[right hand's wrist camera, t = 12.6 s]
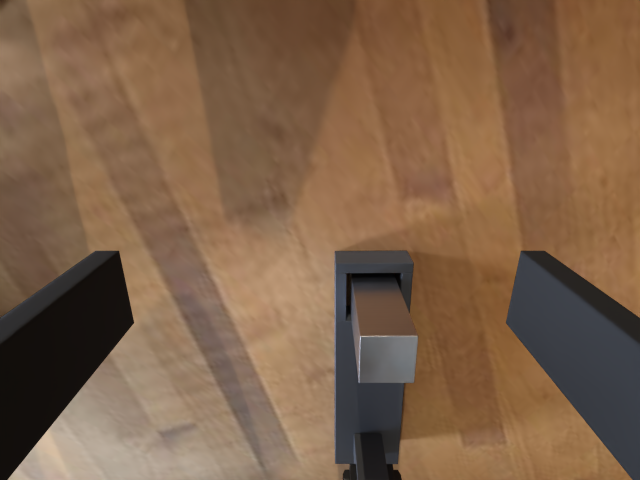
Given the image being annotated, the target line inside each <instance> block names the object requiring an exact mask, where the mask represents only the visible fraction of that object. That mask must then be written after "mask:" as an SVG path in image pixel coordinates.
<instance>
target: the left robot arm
mask: <svg viewBox="0 0 640 480" xmlns="http://www.w3.org/2000/svg"><path fill="white" fill-rule="evenodd" d="M387 469H388V476H389V480H402V479H401V474H400V473H399V471H398V470H393V465H392V464H387ZM343 480H357V471H356V464H349V470H345V471H344V473H343Z"/></svg>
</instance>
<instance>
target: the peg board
mask: <svg viewBox="0 0 640 480" xmlns="http://www.w3.org/2000/svg"><path fill="white" fill-rule="evenodd" d="M413 265H414V263H413V261H412V259H411V257H410V255H409V254H408V252H407V251H335V464H356V471H357V480H389V476H388V469H387V464H398V455H399V443H400V430H401V417H402V405H403V392H404V383H359V380H358V371H357V363H356V354H355V346H354V337H353V329H352V320H351V311H350V305H346V273H396V274H395V278H396V281H397V283H398V286H399V288H400V291H401V293H402V296H403V299H404V301H405V304H406V306H407V309H408V311H409V314H410V301H411V289H412V276H413Z"/></svg>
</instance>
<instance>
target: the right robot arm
mask: <svg viewBox="0 0 640 480" xmlns="http://www.w3.org/2000/svg"><path fill="white" fill-rule="evenodd" d="M133 324H134V320H133V315H132V311H131V306H130V301H129V296H128V292H127V287H126V282H125V277H124V272H123V268H122V263H121V258H120V253H119V251H95V252H93V253H92V254H90V255H89V256H88V257H86V258H85V259H83V260H82V261H80V262H79V263H78V264H76V265H75V266H73V267H72V268H70V269H69V270H68V271H66V272H65V273H63V274H62V275H61V276H59V277H58V278H56V279H55V280H53V281H52V282H51V283H49V284H48V285H46V286H45V287H43V288H42V289H41V290H39V291H38V292H36V293H35V294H34V295H32V296H31V297H29V298H28V299H26V300H25V301H24V302H22V303H21V304H19V305H18V306H17V307H15V308H14V309H12V310H11V311H9V312H8V313H7V314H5V315H4V316H2V317H1V318H0V480H7V479H8V478H9V477H10V476H11V474H12V473H13V472H14V471H15V470H16V468H17V467H18V466H19V465H20V463H21V462H22V461H23V460H24V458H25V457H26V456H27V455H28V453H29V452H30V451H31V450H32V448H33V447H34V446H35V445H36V444H37V442H38V441H39V440H40V439H41V437H42V436H43V435H44V434H45V432H46V431H47V430H48V429H49V427H50V426H51V425H52V424H53V423H54V421H55V420H56V419H57V418H58V416H59V415H60V414H61V413H62V411H63V410H64V409H65V408H66V406H67V405H68V404H69V403H70V401H71V400H72V399H73V398H74V397H75V395H76V394H77V393H78V392H79V390H80V389H81V388H82V387H83V385H84V384H85V383H86V382H87V380H88V379H89V378H90V377H91V375H92V374H93V373H94V372H95V371H96V369H97V368H98V367H99V366H100V364H101V363H102V362H103V361H104V359H105V358H106V357H107V356H108V354H109V353H110V352H111V351H112V350H113V348H114V347H115V346H116V345H117V343H118V342H119V341H120V340H121V338H122V337H123V336H124V335H125V333H126V332H127V331H128V330H129V328H130V327H131V326H132V325H133ZM506 324H507V325H508V326H509V327H510V328H511V330H512V331H513V332H514V333H515V335H516V336H517V337H518V338H519V340H520V341H521V342H522V343H523V345H524V346H525V347H526V348H527V350H528V351H529V352H530V353H531V354H532V356H533V357H534V358H535V359H536V361H537V362H538V363H539V364H540V366H541V367H542V368H543V369H544V371H545V372H546V373H547V374H548V375H549V377H550V378H551V379H552V380H553V382H554V383H555V384H556V385H557V387H558V388H559V389H560V390H561V392H562V393H563V394H564V395H565V397H566V398H567V399H568V400H569V401H570V403H571V404H572V405H573V406H574V408H575V409H576V410H577V411H578V413H579V414H580V415H581V416H582V418H583V419H584V420H585V421H586V423H587V424H588V425H589V426H590V427H591V429H592V430H593V431H594V432H595V434H596V435H597V436H598V437H599V439H600V440H601V441H602V442H603V444H604V445H605V446H606V447H607V449H608V450H609V451H610V452H611V453H612V455H613V456H614V457H615V458H616V460H617V461H618V462H619V463H620V465H621V466H622V467H623V468H624V470H625V471H626V472H627V473H628V474H629V476H630V477H631V478H632V479H633V480H640V318H639V317H638V316H636V315H635V314H633V313H632V312H631V311H629V310H628V309H626V308H625V307H623V306H622V305H621V304H619V303H618V302H616V301H615V300H614V299H612V298H611V297H609V296H608V295H606V294H605V293H604V292H602V291H601V290H599V289H598V288H596V287H595V286H594V285H592V284H591V283H589V282H588V281H587V280H585V279H584V278H582V277H581V276H579V275H578V274H577V273H575V272H574V271H572V270H571V269H570V268H568V267H567V266H565V265H564V264H562V263H561V262H560V261H558V260H557V259H555V258H554V257H552V256H551V255H550V254H548V253H547V252H545V251H521V253H520V258H519V263H518V268H517V272H516V277H515V282H514V287H513V292H512V296H511V301H510V306H509V311H508V315H507V320H506Z"/></svg>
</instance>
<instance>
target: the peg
mask: <svg viewBox="0 0 640 480" xmlns="http://www.w3.org/2000/svg"><path fill="white" fill-rule="evenodd" d="M349 303H350V311H351V320H352V329H353V337H354V346H355V354H356V363H357V371H358V380H359V383H414V378H415V367H416V356H417V345H418V334H417V332H416V329H415V327H414V324H413V322H412V319H411V316H410V314H409V311H408V309H407V306H406V304H405V301H404V299H403V296H402V293H401V291H400V288H399V286H398V283H397V281H396V278H395V276H394V273H350V287H349Z"/></svg>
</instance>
